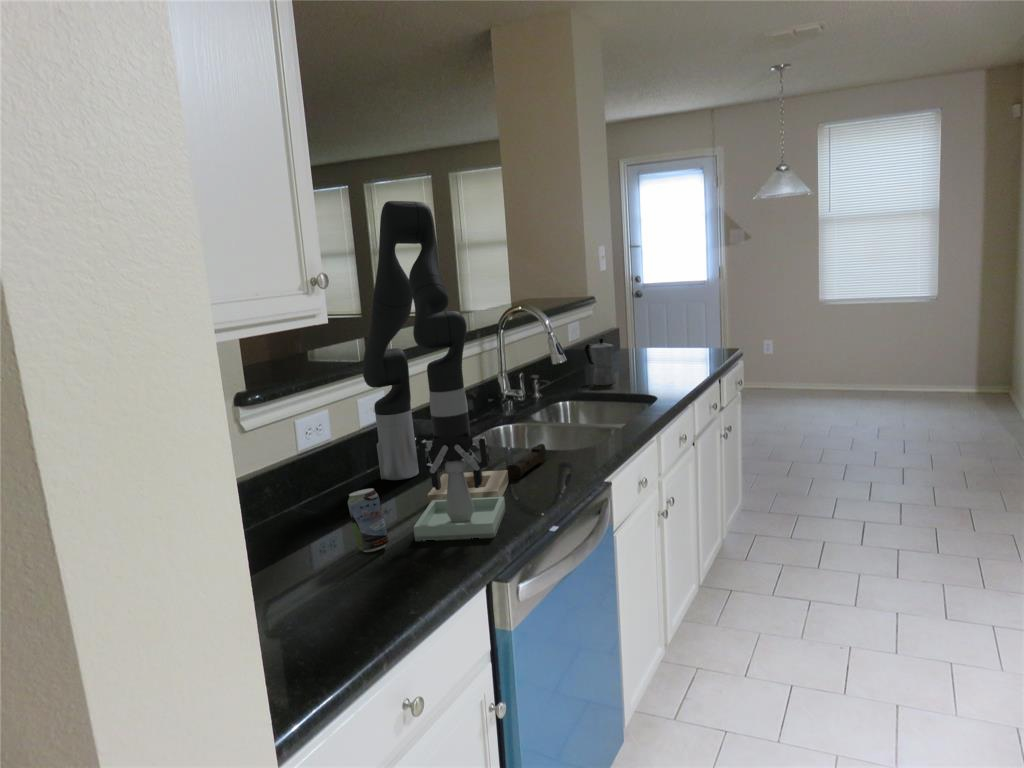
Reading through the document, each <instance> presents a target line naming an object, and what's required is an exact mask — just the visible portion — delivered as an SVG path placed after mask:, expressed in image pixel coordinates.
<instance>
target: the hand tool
mask: <svg viewBox="0 0 1024 768" xmlns="http://www.w3.org/2000/svg"><path fill="white" fill-rule="evenodd" d="M546 449H547V448H546V445H545V444H544V443H540V444H537V445H536V446H533V447H532V448H531V450H530V451H531V452H530V453H529V454H527V455H525V456H523V457H522V458H520V459H519V460H517V461H515V462H514V463H512V464H509V465H506V469H505V470H508V480H519V479H520V478H523V475H524V474H525V473H527V472H528V471H530V470H531V469H533V468H534V467H535V466H537V465H542V464H543V463H545V461H546V460H547V450H546Z"/></svg>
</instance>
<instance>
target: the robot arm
mask: <svg viewBox="0 0 1024 768" xmlns="http://www.w3.org/2000/svg"><path fill="white" fill-rule="evenodd" d="M434 220H435V219H434V217H433V213H432V210H431V208H430V205H428V204H427V203H425V202H423V201H414V200H413V201H411V200H410V201H409V200H388V201H386V202H385V203H384V204H383V206H382V209H381V213H380V220H379V221H380V222H379V223H380V224H379V237H378V239H379V243H378V260H377V261H378V262H377V268H376V275H375V284H374V289H373V296H372V306H371V318H370V326H369V333H368V338H367V343H366V346H365V350H364V355H363V359H362V375H363V379H364V382H365V383H366V385H367V386H369V388H373V389H375V388H383V387H389V386H391V389H390V390H389V391H388V392H387V394H385V395H384V396H383V397H381V398H380V399H378V400H376V402H374V404H373V406H374V413H375V415H374V416H375V423H376V429H377V437H378V442H377V443H376V450H377V457H378V464H379V471H380V472H379V473H380V474H379V475H380V479H381V480H388V481H399V480H400V481H401V480H407V479H410V478H413V477H416V476H418V474H419V473H420V472H419V463H420V470H421V471H427V472H429V474H430V478H431V486H432V488H434V487H435V489H436V490H440V488H441V481H440V477H441V474H440V470H439V467H440V466H441V464H442V462H443V460H445V462H447V461H450V460H453V459H455V460H461V459H463V460H464V461H465V463H467V464H469V465H470V466H471V468H472V469H473V470H472V472H473V475H474V484H475V488H479V486H480V485H481V484H482V481H483V480H482V472H483V471H482V470H483V468H488V467H489V464H490V463H491V461H490V453H489V445H488V440H487V439H488V438H487V436H485V435H482V436H481V437H473V436H472V434H471V427H470V418H469V410H468V409H469V404H468V401H467V395H466V389H465V383H464V376H463V375H464V374H463V355H464V348H465V343H466V336H467V330H468V329H467V322H466V320H465V317H464V316H463V314H462V313H461V312H459V311H457V310H448V311H446V309H447V308H448V305H449V295H448V292H447V288H446V285H445V282H444V278H443V275H442V272H441V267H440V261H439V260H440V259H439V258H440V257H439V251H438V250H439V249H438V243H437V242H438V241H437V235H436V229H435V221H434ZM397 244H400V245H401V244H404V245H406V244H408V245H409V244H412V245H413V244H414V245H418V244H419V245H420V247H421V248H420V251H419V254H418V256H417V258H416V260H415V261H414V263H413V264H412V267H411V268H410V271H409V276H408V275H407V274H406V272H405V271H404V269H403V267H402V266H401V263H400V262H399V260H398V256H397V254H396V246H397ZM413 304H414V321H413V330H412V331H413V332H412V333H413V339H414V343H415V344H416V345H417V346H418V347H419V348H421V349H423V350H434V349H441V348H449V349H448V351H447V353H446V354H445V355H444V356H443V357H439V358H437V359H435V360H433V361H430V362H429V363H428V364H427V365H426V373H427V381H428V382H427V383H428V391H429V399H428V400H429V409H430V416H431V417H430V419H431V426H432V433H433V435H432V436H433V439H432V440H427V439H422V440H421V441H420V442H419V443H418V452H419V460H420V462H419V463H418V453H417V448H416V447H417V444H416V438H415V430H414V423H413V422H414V421H413V413H412V407H411V401H412V400H411V399H412V397H411V385H410V372H409V371H410V370H409V362H408V358H407V355H406V353H405V352H404V351H403V350H402V349H401V348H399V347H398V348H397V347H395V348H389V349H387V348H388V346H389V345H390V342H391V341H392V340H393V339H394V337H395V336H396V335H397V334H398V333H399V332H400V330H401V329H402V328H403V327H404V326H405V325H406V323H407V322H408V320H409V318H410V315H411V313H412V312H411V311H412V306H413ZM473 445H475V446H476V448H477V449H479V453H480V460H479V458H477V457H476V456H477V455H476V454H475V453H474V452H473V451H472V449H471V448H472V446H473ZM431 448H433V449H434V450H435V451H436V453H438V454H437V456H436V458H435V460H433V463H430V456H429V452H430V451H431Z"/></svg>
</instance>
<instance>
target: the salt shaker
mask: <svg viewBox="0 0 1024 768" xmlns="http://www.w3.org/2000/svg"><path fill="white" fill-rule="evenodd" d="M466 463H467V462H466V461H465V459H464V458H463V459H461V460H455V459H453V460H450V461H445V463H444V469H445V472H446V473H447V474H448V487H447V502H446V512H447V514H448V516H449V518H450V519H451V521H452V522H453V523H466V522H468V521H470V520H471V517H472V514H473V512H474V505H473V502H472V499H471V496H470V492H469V489H468V486H467V483H466V479H465V475H464V473H465V472H464V471H465V470H466V469H467V464H466Z"/></svg>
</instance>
